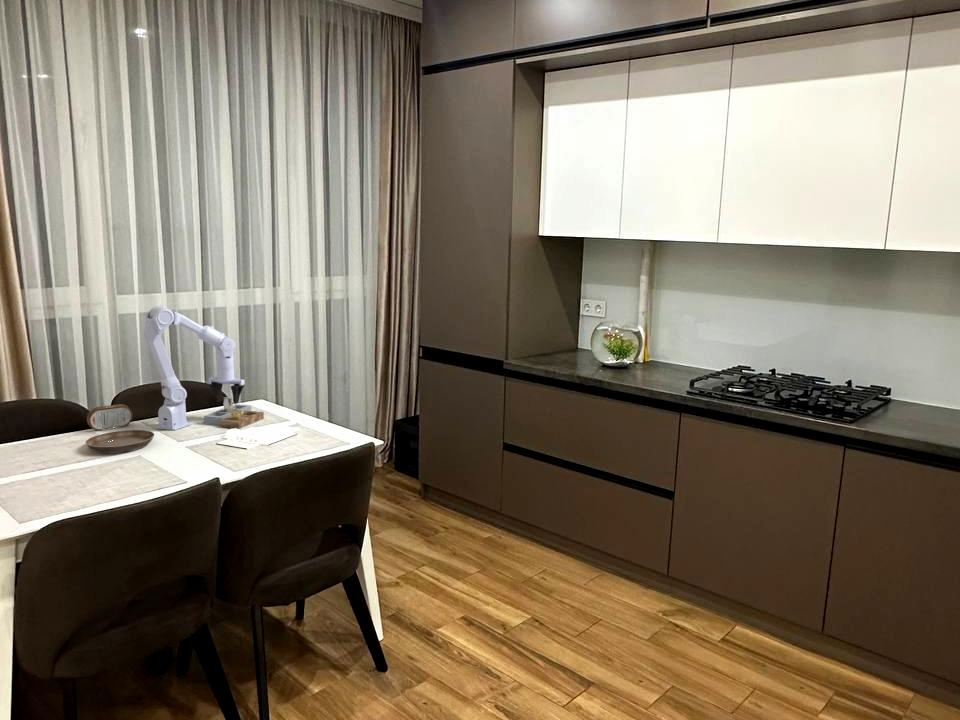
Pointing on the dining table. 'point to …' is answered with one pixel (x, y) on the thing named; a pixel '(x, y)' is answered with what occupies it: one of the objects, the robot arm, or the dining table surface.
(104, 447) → the plant saucer
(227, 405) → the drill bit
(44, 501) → the dining table surface
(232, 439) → the white book
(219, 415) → the rack
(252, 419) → the drill block
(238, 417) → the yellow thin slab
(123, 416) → the tin
